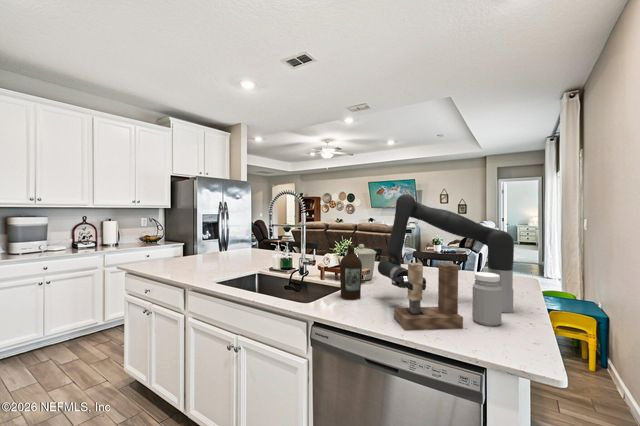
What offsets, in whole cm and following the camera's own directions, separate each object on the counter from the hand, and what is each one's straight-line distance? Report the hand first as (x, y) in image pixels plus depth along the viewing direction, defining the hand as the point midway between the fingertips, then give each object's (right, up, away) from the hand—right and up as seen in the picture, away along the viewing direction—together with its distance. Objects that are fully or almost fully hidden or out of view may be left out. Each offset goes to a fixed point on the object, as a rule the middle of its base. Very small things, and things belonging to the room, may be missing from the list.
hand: (418, 287), depth 111 cm
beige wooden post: (0, -10, +3) cm, 10 cm away
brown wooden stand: (+5, -14, +3) cm, 15 cm away
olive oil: (-21, -14, +37) cm, 44 cm away
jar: (+27, -14, +4) cm, 31 cm away
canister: (-10, -13, +76) cm, 78 cm away
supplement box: (+53, -14, +46) cm, 72 cm away
